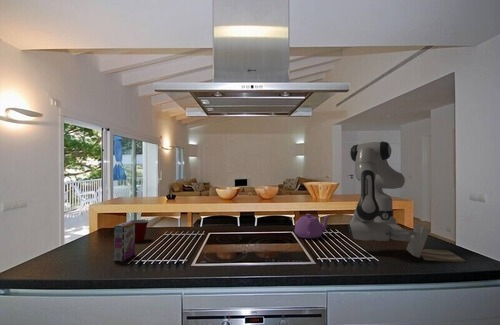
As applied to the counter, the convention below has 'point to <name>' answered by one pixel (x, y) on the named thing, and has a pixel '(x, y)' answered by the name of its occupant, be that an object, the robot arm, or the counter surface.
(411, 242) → the tile
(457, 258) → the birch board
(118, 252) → the candy bar box
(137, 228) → the plastic cup
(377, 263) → the counter surface
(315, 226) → the teapot
